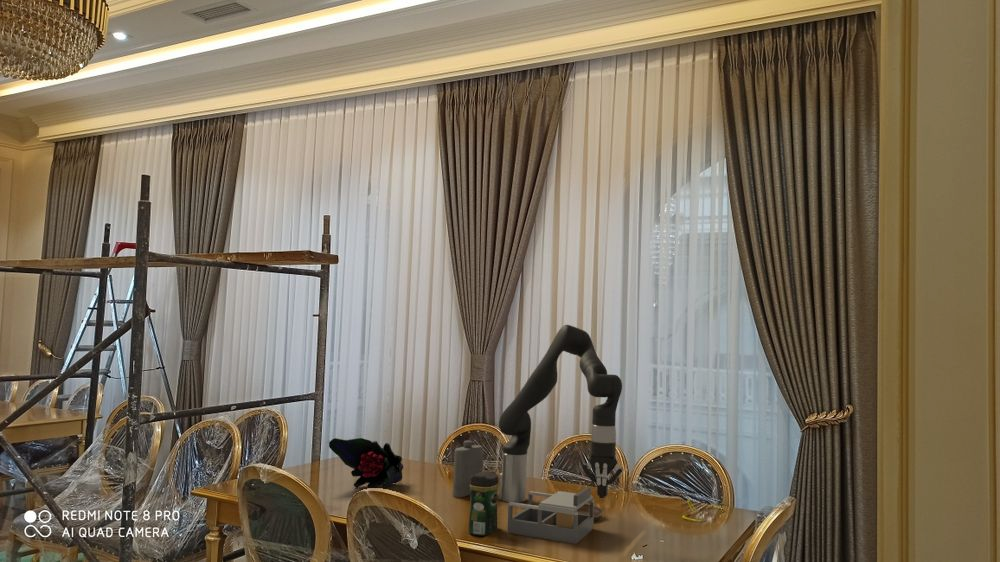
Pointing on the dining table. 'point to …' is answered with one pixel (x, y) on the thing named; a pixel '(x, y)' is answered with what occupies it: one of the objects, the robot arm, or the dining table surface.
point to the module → (564, 520)
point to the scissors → (693, 510)
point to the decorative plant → (369, 461)
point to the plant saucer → (586, 511)
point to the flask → (466, 467)
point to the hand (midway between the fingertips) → (602, 497)
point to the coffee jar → (483, 503)
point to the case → (548, 522)
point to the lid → (566, 501)
